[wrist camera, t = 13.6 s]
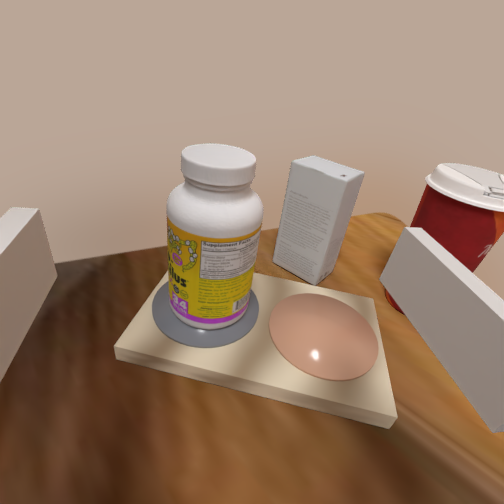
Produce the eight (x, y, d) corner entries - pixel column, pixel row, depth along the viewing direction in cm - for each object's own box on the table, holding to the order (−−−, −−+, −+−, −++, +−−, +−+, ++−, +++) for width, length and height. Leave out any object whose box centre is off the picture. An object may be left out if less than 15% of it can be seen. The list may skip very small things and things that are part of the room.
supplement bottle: (167, 281, 28) (163, 135, 21) (238, 276, 30) (256, 141, 23) (171, 339, 23) (166, 171, 16) (256, 329, 25) (287, 175, 18)
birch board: (116, 359, 23) (113, 346, 22) (178, 267, 33) (178, 255, 32) (389, 429, 21) (397, 417, 20) (367, 309, 31) (372, 298, 30)
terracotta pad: (260, 364, 23) (261, 361, 22) (276, 287, 30) (276, 284, 30) (386, 395, 22) (387, 392, 22) (369, 308, 29) (370, 305, 29)
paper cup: (462, 336, 30) (561, 204, 22) (382, 319, 30) (451, 184, 23) (436, 285, 36) (505, 169, 29) (369, 272, 37) (420, 154, 29)
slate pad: (131, 332, 23) (130, 329, 23) (177, 265, 31) (177, 262, 31) (247, 360, 23) (247, 358, 22) (265, 284, 30) (266, 282, 30)
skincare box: (333, 272, 36) (367, 172, 29) (314, 288, 33) (348, 181, 26) (290, 249, 39) (313, 153, 32) (270, 261, 36) (290, 160, 29)
